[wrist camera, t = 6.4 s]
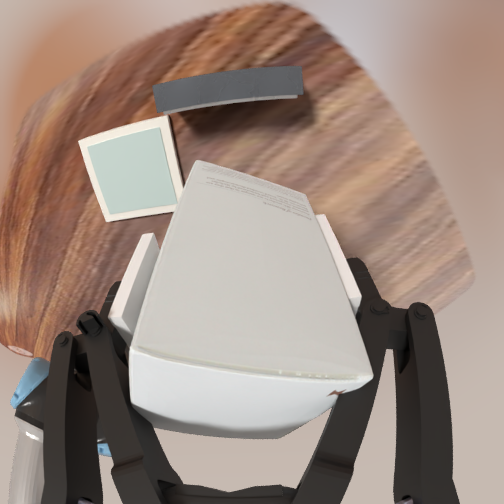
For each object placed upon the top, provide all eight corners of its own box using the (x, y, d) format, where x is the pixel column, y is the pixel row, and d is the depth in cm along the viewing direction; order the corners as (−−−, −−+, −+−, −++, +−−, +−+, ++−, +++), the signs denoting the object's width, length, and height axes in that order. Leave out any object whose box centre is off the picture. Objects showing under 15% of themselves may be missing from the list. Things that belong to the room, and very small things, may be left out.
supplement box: (195, 155, 15) (124, 345, 5) (308, 193, 17) (384, 380, 7) (169, 250, 20) (128, 424, 10) (264, 275, 21) (281, 443, 11)
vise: (208, 268, 37) (205, 296, 33) (167, 81, 22) (152, 85, 18) (298, 260, 37) (304, 287, 33) (291, 66, 22) (301, 66, 18)
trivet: (108, 219, 32) (106, 222, 31) (80, 139, 25) (78, 141, 24) (188, 207, 31) (187, 210, 31) (168, 114, 25) (166, 115, 24)
